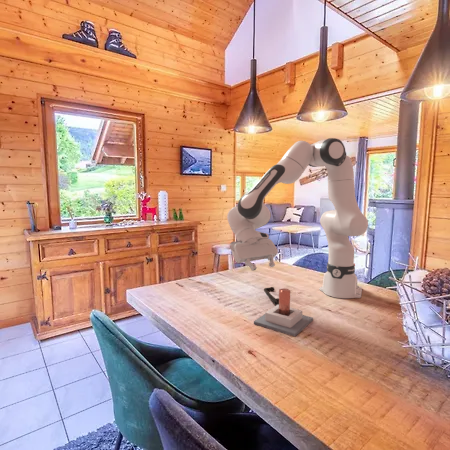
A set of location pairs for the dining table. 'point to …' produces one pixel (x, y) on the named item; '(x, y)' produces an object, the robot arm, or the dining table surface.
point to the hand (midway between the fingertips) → (263, 268)
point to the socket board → (285, 329)
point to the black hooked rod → (275, 301)
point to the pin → (284, 302)
